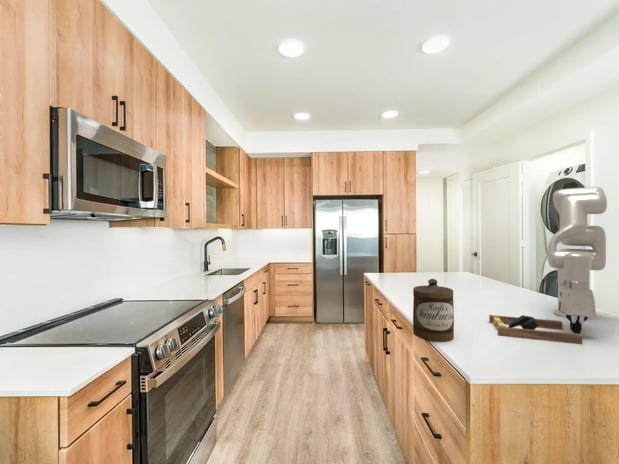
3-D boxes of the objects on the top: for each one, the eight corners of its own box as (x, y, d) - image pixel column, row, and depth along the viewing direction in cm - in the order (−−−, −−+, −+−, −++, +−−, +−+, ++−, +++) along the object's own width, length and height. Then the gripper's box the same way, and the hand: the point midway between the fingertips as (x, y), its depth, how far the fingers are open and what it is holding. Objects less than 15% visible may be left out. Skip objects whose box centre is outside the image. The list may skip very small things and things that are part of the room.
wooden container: (417, 341, 114) (417, 282, 113) (409, 328, 128) (409, 275, 128) (459, 342, 112) (459, 282, 111) (447, 329, 126) (447, 276, 126)
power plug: (499, 326, 127) (525, 310, 125) (511, 341, 126) (537, 326, 125) (506, 331, 121) (533, 314, 120) (518, 347, 121) (545, 331, 119)
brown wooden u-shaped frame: (489, 321, 136) (489, 314, 136) (560, 328, 127) (560, 320, 127) (498, 335, 119) (498, 327, 119) (582, 344, 110) (582, 335, 110)
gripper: (556, 285, 117) (556, 333, 117) (606, 288, 111) (606, 338, 112) (548, 282, 124) (548, 327, 124) (595, 284, 119) (595, 331, 119)
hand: (575, 332), depth 118 cm, fingers closed
